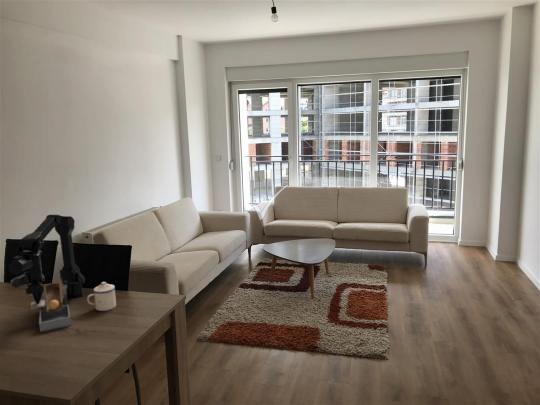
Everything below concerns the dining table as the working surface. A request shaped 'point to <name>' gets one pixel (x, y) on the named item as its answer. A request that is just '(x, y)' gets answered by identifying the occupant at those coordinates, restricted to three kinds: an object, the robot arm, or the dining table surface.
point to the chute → (50, 297)
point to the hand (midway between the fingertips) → (37, 303)
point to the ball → (53, 304)
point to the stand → (65, 301)
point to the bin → (54, 319)
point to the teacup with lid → (104, 297)
